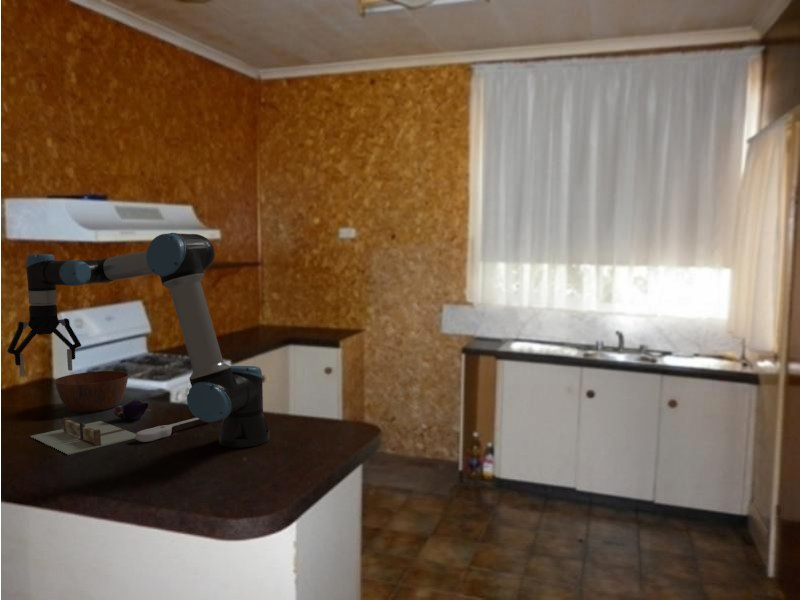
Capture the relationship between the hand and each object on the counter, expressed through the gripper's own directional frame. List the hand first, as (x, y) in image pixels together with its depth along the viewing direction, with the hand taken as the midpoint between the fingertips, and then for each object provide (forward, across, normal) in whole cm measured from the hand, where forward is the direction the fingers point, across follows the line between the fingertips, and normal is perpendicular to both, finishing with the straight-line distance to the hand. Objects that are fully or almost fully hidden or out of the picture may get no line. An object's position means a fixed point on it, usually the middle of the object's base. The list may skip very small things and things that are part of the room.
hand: (46, 372), depth 195 cm
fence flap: (+20, -6, +2) cm, 21 cm away
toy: (+21, -28, -5) cm, 35 cm away
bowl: (+21, -21, -34) cm, 45 cm away
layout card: (+21, -9, +6) cm, 23 cm away
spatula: (+21, -33, +20) cm, 44 cm away
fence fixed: (+21, -8, +14) cm, 26 cm away
